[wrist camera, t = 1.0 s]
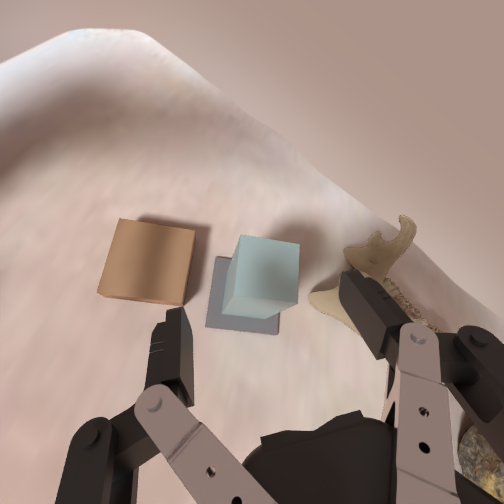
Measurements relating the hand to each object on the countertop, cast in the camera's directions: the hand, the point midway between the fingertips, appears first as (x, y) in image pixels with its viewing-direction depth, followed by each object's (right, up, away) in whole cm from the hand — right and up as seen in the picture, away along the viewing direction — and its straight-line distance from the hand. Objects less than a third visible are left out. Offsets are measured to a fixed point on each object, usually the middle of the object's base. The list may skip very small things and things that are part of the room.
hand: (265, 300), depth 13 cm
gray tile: (-2, -3, +21) cm, 22 cm away
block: (-1, -3, +21) cm, 21 cm away
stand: (-13, +1, +20) cm, 24 cm away
